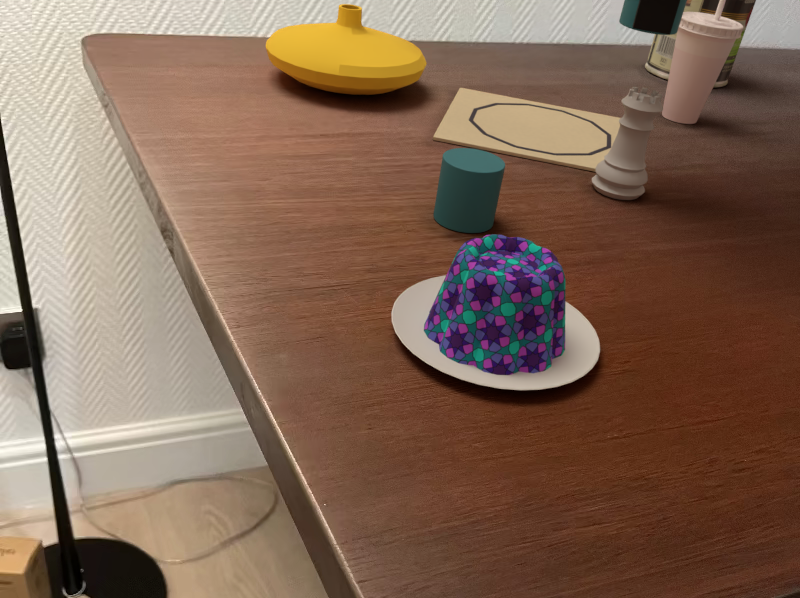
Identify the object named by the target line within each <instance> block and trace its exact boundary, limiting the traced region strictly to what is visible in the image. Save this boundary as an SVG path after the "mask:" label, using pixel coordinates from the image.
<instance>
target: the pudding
mask: <svg viewBox="0 0 800 598" xmlns="http://www.w3.org/2000/svg"><path fill="white" fill-rule="evenodd" d="M448 268H449V269H448V271H447V273H446V274H445V275H440V276H436V277H430V278H428V279H424V280H422V281H419V282H417V283H415V284H413V285H411V286H409V287H408V288H406V289H405V290H404V291H403V292H402V293H400V294H399V295H398V297H397V298H396V300H395V301H394V303H393V306H392V309H391V324H392V327H393V330H394V332H395V334H396V335H397V337H398V338H399V340H400V341H401V343H402V344H403V345H404V346H405V347H406V348H407V350H409V352H411V354H413V355H414V356H416V357H417V358H419V359H420V360H421V361H422V362H424V364H425V363H426V364H427V365H429V366H431V367H433V368H434V369H436V370H438V371H440V372H442V373H444V374H446V375H449V376H451V377H454V378H456V379H459V380H461V381H465V382H468V383H472V384H475V385H478V386H483V387H488V388H489V387H490V388H494V389H501V390H512V391H513V390H514V391H538V390H539V391H540V390H546V389H552V388H558V387H561V386H564V385H568V384H571V383H573V382H575V381H577V380H580V379H581V378H582V377H584V376H586V375H587V374H588V373H589V372H590V371H591V370H593V368H594V367H595V365H596V364H597V362H598V361H599V357H600V353H601V343H600V339H599V336H598V333H597V331H596V329H595V327H594V326H593V325H592V323H591V322H590V321H589V319H587V318H586V316H584V314H583V313H582V312H581V311H579V310H578V309H577V308H576V307H574V306H573V305H572V304H570V303H569V302H568V301H566V288H567V287H566V282H567V281H566V280H567V279H566V275H565V271H564V268H563V266H562V265H561V264H560V263H559V260H558V257H557V256H556V255H555V254H554V253H553V252H552V251H551V250H550V249H548V248H547V247H543V246H541V245H537V244H536V243H535V242H534V241H533V240H530V239H527V238H524V237H519V236H513V237H511V236H510V237H509V236H506V235H503V234H496V233H494V234H493V233H492V234H486V235H484V236H483V237H474V238H471V239H468V240H466V241H464V243H463V244H462V245H461V246H460V248H459V249H458V250H457V251H456V253H455V256H454V258H453V260H452V262H451V263H450V266H449V267H448Z"/></svg>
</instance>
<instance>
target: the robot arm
mask: <svg viewBox="0 0 800 598" xmlns="http://www.w3.org/2000/svg"><path fill="white" fill-rule="evenodd" d="M679 3H680V0H639V4H638V8H637V11H636V15H635V19H634V22H633V28H634V29H639V30H645V31H651V32H657V33H663V34H669V35H670V33H671V30H672V26H673V23H674V20H675V16H676V13H677V10H678V7H679Z"/></svg>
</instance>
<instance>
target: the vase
mask: <svg viewBox="0 0 800 598" xmlns="http://www.w3.org/2000/svg"><path fill="white" fill-rule="evenodd" d="M362 17H363V8H362V6H359V5H356V4H351V3H341V4H339V5H338V11H337V19H336V21H335V22H319V23H301V24H294V25H293V24H292V25H288V26H285V27H284V26H283V27H281V28H278V29H277V30H275V31H274V32H272V34H271V35H270V36H269V38H268V39H266V42H265V50H266V53H267V57H268V60H269V62H270V63H271V64H272V65H273V67H275V68H277V69H278V70H279V71H282V72H283V73H285V74H286V75H288V76H289V77H291V78H293V79H294V80H296V81H297V82H299V83H301V84H303V85H306V86H307V87H311V88H313V89H317V90H322V91H325V92H330V93H335V94H336V93H337V94H343V95H344V94H345V95H354V96H355V95H356V96H357V95H359V96H361V95H362V96H364V95H365V96H369V95H370V96H371V95H380V94H381V95H382V94H385V93H391V92H394V91H396V90H399V89H402V88H404V87H405V88H406V87H408V86H410V85H413V84H414V83H416V82H418V81H419V80H420V78H421V77H422V75H423V73H424V71H425V69H426V67H427V64H428V63H427V60H426V57H425V56H424V54H423V52H422V50H421V48H419V47H418V46H417V45H416V44H414V43H413V42H411V41H409V40H407V39H406V38H403V37H400V36H397V35H394V34H391V33H388V32H384V31H381V30H378V29H375V28H371V27H368V26H364V25H363V23H362V19H363V18H362Z"/></svg>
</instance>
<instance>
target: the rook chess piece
mask: <svg viewBox="0 0 800 598" xmlns="http://www.w3.org/2000/svg"><path fill="white" fill-rule="evenodd" d="M648 90H649V88H648V87H643V86H641V89H640V92H638V91H639V87H638V86H632V87H631V88H629V90H628V93H627V95H625V96H624V97H623V98H622V99H621V104H622V107H623V110H624V111H623V115H622V116H621V117H620V118H621V119H619V123H620V127H619V130H618V134H617V136H616V138H615V141H614V143H613V145H612V147H611V149H610V151H609V153H608V154H607V155H605V156H604V160H603V161H601V162H600V163H598V165H597V166H596V168H595V169H596V172H595V175H594V176H592V177H591V183H592V186H593V188H594V189H595V190H596V191H597V192H598V193H600V194H601V195H603V196H604V197H608V198H611V199H613V200H614V199H615V200H620V201H633V200H637V199H639V197H641V196H642V195H643V194H644V193H645V192H646V189H645V187H644V185H645V184H647V182H648V181H649V179H648V178H649V177H648V171H647V169H646V168H647V163H646V153H647V148H648V141H649V138H650V136H651V132H652V131H653V130H655V125H654V120H655V119H656V117H657V116H658V115H659V114H660V113H662V111H663V104H662V99H663V94H662V93H660V91H658V90H656V89H653V90H651V94H648V92H649V91H648Z"/></svg>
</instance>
